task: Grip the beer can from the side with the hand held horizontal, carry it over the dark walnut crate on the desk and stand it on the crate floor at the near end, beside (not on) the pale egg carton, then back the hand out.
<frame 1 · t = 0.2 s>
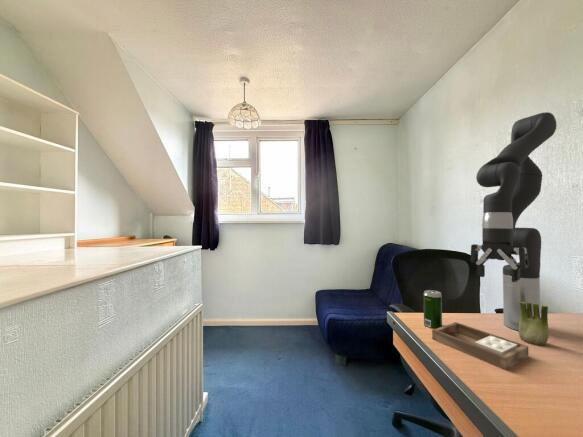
hand: (497, 279, 80), 17 cm above the table, tool pointing down, fingers open, 8 cm apart
fennel bulb: (533, 345, 74), on the table
crate: (477, 350, 71), on the table
egg carton: (496, 354, 67), point 1 cm above the table, touching crate
beer can: (432, 328, 86), on the table
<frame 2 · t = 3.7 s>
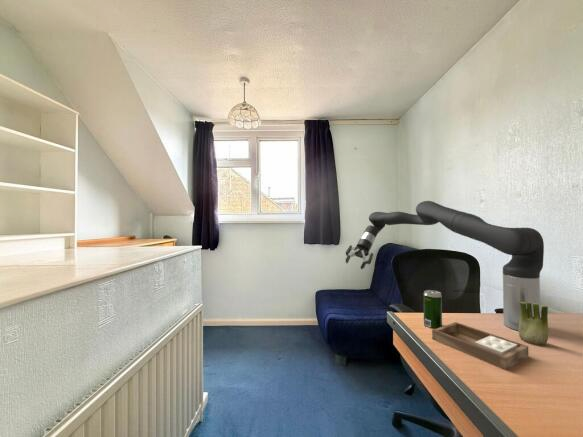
hand: (353, 265, 139), 12 cm above the table, tool tilted 40°, fingers open, 8 cm apart
nothing on the table moved.
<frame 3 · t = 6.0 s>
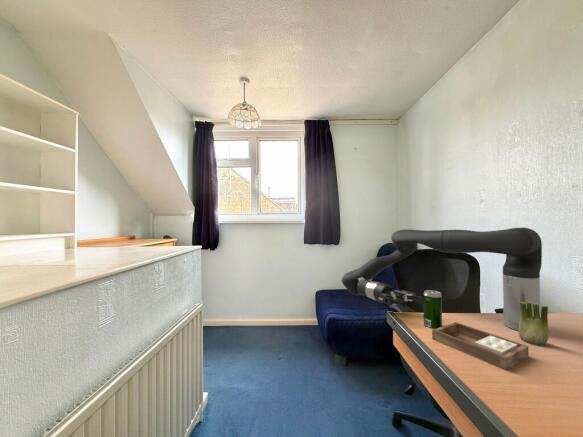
hand: (414, 302, 92), 7 cm above the table, tool horizontal, fingers open, 8 cm apart
nothing on the table moved.
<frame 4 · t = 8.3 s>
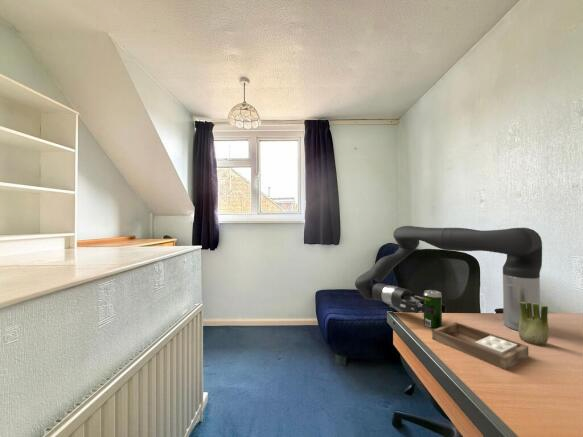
hand: (440, 310, 84), 7 cm above the table, tool horizontal, fingers closed on beer can, 5 cm apart
beer can: (432, 328, 86), on the table, touching gripper
everything else where it was.
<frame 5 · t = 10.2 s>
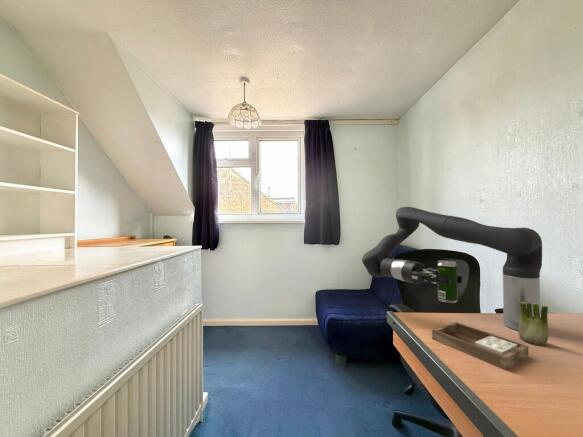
hand: (455, 280, 77), 18 cm above the table, tool horizontal, fingers closed on beer can, 5 cm apart
beer can: (447, 301, 79), point 11 cm above the table, touching gripper
everything else where it was.
when the fingers open (9 cm above the table, at t = 12.6 s): beer can drops 1 cm, resting on crate.
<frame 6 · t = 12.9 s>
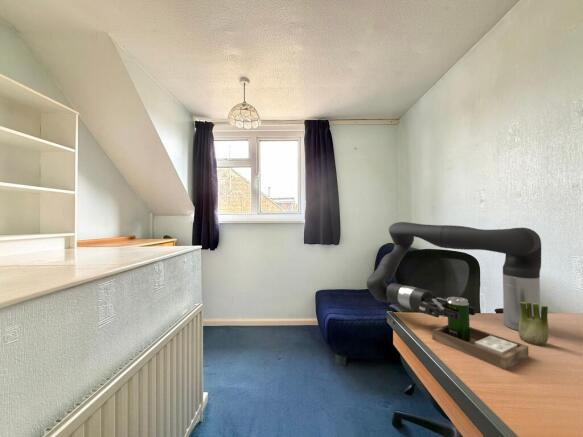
hand: (467, 314, 73), 9 cm above the table, tool horizontal, fingers open, 7 cm apart
beer can: (459, 341, 75), point 1 cm above the table, touching crate
everything else where it was.
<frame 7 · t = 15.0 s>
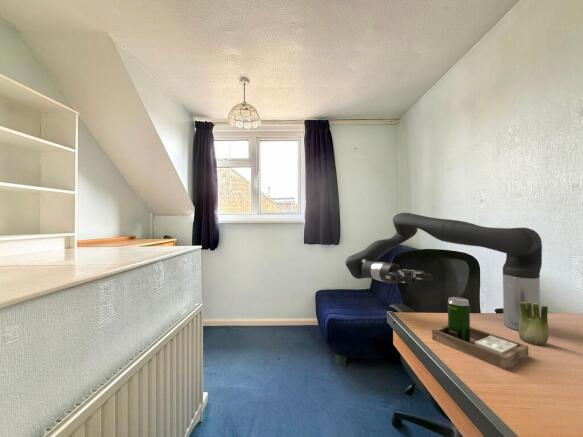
hand: (424, 279, 86), 16 cm above the table, tool horizontal, fingers open, 8 cm apart
nothing on the table moved.
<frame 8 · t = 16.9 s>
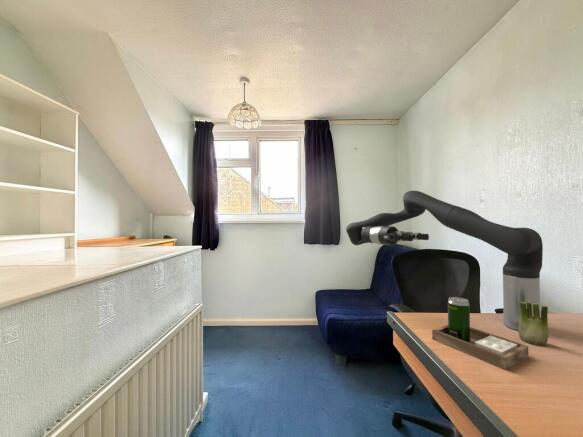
hand: (420, 237, 90), 30 cm above the table, tool horizontal, fingers open, 8 cm apart
nothing on the table moved.
at the end: beer can inside the target area on the crate (0.2 cm from its centre), point 0.6 cm above the crate's base; beer can tilted 0°; the gripper is holding nothing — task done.
